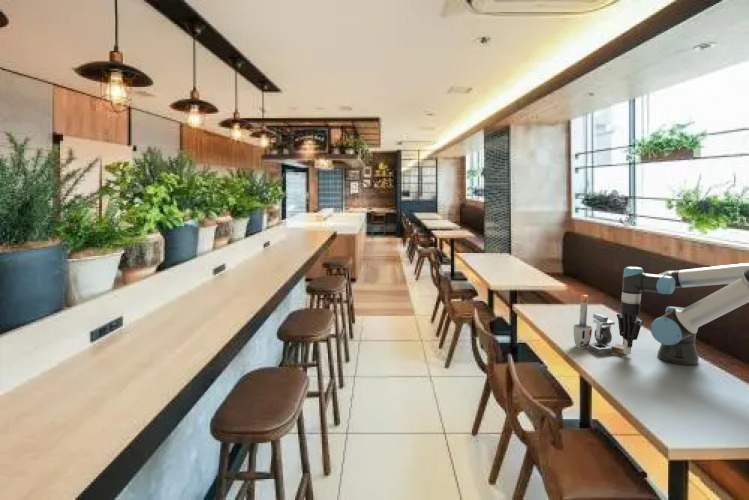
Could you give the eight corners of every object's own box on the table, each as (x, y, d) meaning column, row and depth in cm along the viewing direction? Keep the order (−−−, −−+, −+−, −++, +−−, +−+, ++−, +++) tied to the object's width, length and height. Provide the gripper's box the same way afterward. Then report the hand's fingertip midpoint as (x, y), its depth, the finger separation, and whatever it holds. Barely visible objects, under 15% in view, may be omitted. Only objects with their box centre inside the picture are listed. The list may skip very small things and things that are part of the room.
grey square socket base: (611, 354, 214) (612, 347, 213) (598, 355, 212) (599, 349, 211) (600, 349, 220) (601, 343, 220) (587, 350, 219) (588, 344, 218)
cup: (580, 350, 219) (581, 329, 217) (568, 345, 226) (569, 324, 225) (594, 349, 221) (596, 328, 219) (582, 343, 228) (584, 323, 227)
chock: (627, 353, 215) (628, 346, 215) (622, 356, 211) (622, 349, 211) (616, 350, 219) (616, 343, 219) (610, 353, 215) (611, 346, 215)
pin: (587, 327, 221) (589, 295, 219) (582, 327, 220) (584, 296, 218) (583, 325, 224) (585, 294, 222) (577, 325, 223) (579, 294, 221)
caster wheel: (614, 345, 225) (616, 318, 224) (602, 347, 224) (604, 319, 222) (599, 339, 235) (601, 313, 233) (587, 340, 233) (589, 314, 231)
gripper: (649, 304, 202) (645, 357, 205) (626, 298, 215) (622, 347, 218) (635, 306, 200) (631, 359, 204) (612, 299, 213) (609, 349, 216)
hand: (626, 353), depth 211 cm, fingers closed
